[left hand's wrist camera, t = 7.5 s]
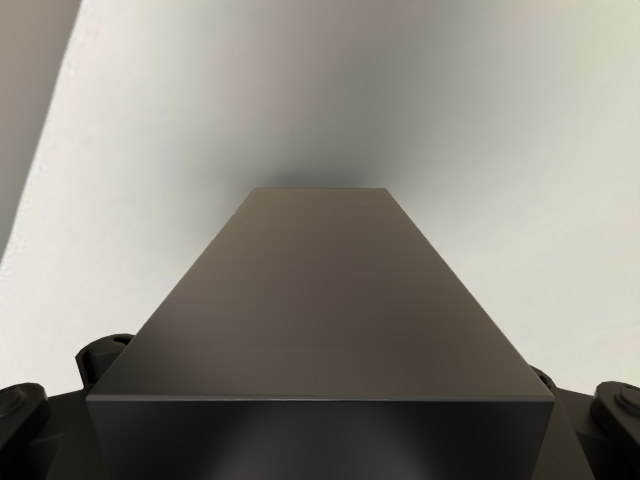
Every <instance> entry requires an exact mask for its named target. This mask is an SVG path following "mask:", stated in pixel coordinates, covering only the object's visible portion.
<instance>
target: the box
mask: <svg viewBox="0 0 640 480" xmlns="http://www.w3.org/2000/svg"><path fill="white" fill-rule="evenodd" d="M86 403H87V406H88V409H89V413H90V416H91V419H92V423H93V426H94V429H95V432H96V436H97V439H98V442H99V446H100V449H101V452H102V455H103V459H104V462H105V465H106V469H107V472H108V475H109V479H110V480H531V478H532V475H533V472H534V469H535V465H536V462H537V459H538V456H539V453H540V449H541V446H542V443H543V440H544V437H545V433H546V430H547V427H548V424H549V421H550V417H551V414H552V411H553V408H554V405H555V397H554V395H553V394H552V393H551V392H550V391H549V389H548V388H547V387H546V386H545V384H544V383H543V382H542V381H541V379H540V378H539V377H538V376H537V375H536V373H535V372H534V371H533V370H532V368H531V367H530V366H529V365H528V363H527V362H526V361H525V360H524V358H523V357H522V356H521V355H520V354H519V352H518V351H517V350H516V349H515V347H514V346H513V345H512V344H511V342H510V341H509V340H508V339H507V338H506V336H505V335H504V334H503V333H502V331H501V330H500V329H499V328H498V326H497V325H496V324H495V323H494V321H493V320H492V319H491V318H490V317H489V315H488V314H487V313H486V312H485V310H484V309H483V308H482V307H481V305H480V304H479V303H478V302H477V300H476V299H475V298H474V297H473V296H472V294H471V293H470V292H469V291H468V289H467V288H466V287H465V286H464V284H463V283H462V282H461V281H460V280H459V278H458V277H457V276H456V275H455V273H454V272H453V271H452V270H451V268H450V267H449V266H448V265H447V263H446V262H445V261H444V260H443V259H442V257H441V256H440V255H439V254H438V252H437V251H436V250H435V249H434V247H433V246H432V245H431V244H430V243H429V241H428V240H427V239H426V238H425V236H424V235H423V234H422V233H421V231H420V230H419V229H418V228H417V226H416V225H415V224H414V223H413V222H412V220H411V219H410V218H409V217H408V215H407V214H406V213H405V212H404V210H403V209H402V208H401V207H400V206H399V204H398V203H397V202H396V201H395V199H394V198H393V197H392V196H391V194H390V193H389V192H388V191H387V189H385V188H255V189H254V190H253V191H252V193H251V194H250V195H249V196H248V198H247V199H246V200H245V201H244V203H243V204H242V205H241V206H240V207H239V209H238V210H237V211H236V212H235V214H234V215H233V216H232V217H231V219H230V220H229V221H228V222H227V223H226V225H225V226H224V227H223V228H222V230H221V231H220V232H219V233H218V234H217V236H216V237H215V238H214V239H213V241H212V242H211V243H210V244H209V246H208V247H207V248H206V249H205V250H204V252H203V253H202V254H201V255H200V257H199V258H198V259H197V260H196V262H195V263H194V264H193V265H192V266H191V268H190V269H189V270H188V271H187V273H186V274H185V275H184V276H183V278H182V279H181V280H180V281H179V282H178V284H177V285H176V286H175V287H174V289H173V290H172V291H171V292H170V294H169V295H168V296H167V297H166V298H165V300H164V301H163V302H162V303H161V305H160V306H159V307H158V308H157V310H156V311H155V312H154V313H153V314H152V316H151V317H150V318H149V319H148V321H147V322H146V323H145V324H144V326H143V327H142V328H141V329H140V330H139V332H138V333H137V334H136V335H135V337H134V338H133V339H132V340H131V342H130V343H129V344H128V345H127V346H126V348H125V349H124V350H123V351H122V353H121V354H120V355H119V356H118V358H117V359H116V360H115V361H114V362H113V364H112V365H111V366H110V367H109V369H108V370H107V371H106V372H105V374H104V375H103V376H102V377H101V378H100V380H99V381H98V382H97V383H96V385H95V386H94V387H93V388H92V390H91V391H90V392H89V393H88V394H87V397H86Z"/></svg>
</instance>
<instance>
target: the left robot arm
mask: <svg viewBox="0 0 640 480" xmlns="http://www.w3.org/2000/svg"><path fill="white" fill-rule="evenodd" d="M134 337H135V335H131V334H114V335H110V336H106V337H103V338H100V339H98V340H96V341H94V342H91V343H90V344H88V345H87V346H86V347H84V348H83V349H81V350H80V352H79V353H78V354H77V355H76V356H75V359H76V362H77V365H78V369H79V372H80V375H81V379H82V382H83V385H84V388H83V389H81V390H78V391H74V392H70V393H65V394H61V395H56V396H52V397H47V395H46V392H45V390H44V387H42V386H41V385H39V384H37V383H23V384H17V385H13V386H10V387H7V388H4V389H1V390H0V480H110V479H109V475H108V472H107V469H106V465H105V462H104V459H103V455H102V452H101V449H100V446H99V442H98V439H97V436H96V432H95V429H94V426H93V423H92V419H91V416H90V413H89V409H88V406H87V403H86V397H87V394H88V393H89V392H90V391H91V390H92V388H93V387H94V386H95V385H96V383H97V382H98V381H99V380H100V378H101V377H102V376H103V375H104V374H105V372H106V371H107V370H108V369H109V367H110V366H111V365H112V364H113V362H114V361H115V360H116V359H117V358H118V356H119V355H120V354H121V353H122V351H123V350H124V349H125V348H126V346H127V345H128V344H129V343H130V342H131V340H132V339H133V338H134ZM529 366H530V367H531V368H532V370H533V371H534V372H535V373H536V375H537V376H538V377H539V378H540V379H541V381H542V382H543V383H544V384H545V386H546V387H547V388H548V389H549V391H550V392H551V393H552V394H553V395H554V397H555V405H554V408H553V411H552V414H551V417H550V421H549V424H548V427H547V430H546V433H545V437H544V440H543V443H542V446H541V449H540V453H539V456H538V459H537V462H536V465H535V469H534V472H533V475H532V478H531V480H640V388H638V387H636V386H632V385H629V384H626V383H621V382H615V381H609V382H602V383H601V384H599V385H598V386H597V388H596V391H595V393H594V396H591V395H586V394H582V393H577V392H573V391H568V390H564V389H560V388H557V387H556V385H555V384H554V382H553V381H552V379H551V378H550V377H549V376H547V375H546V374H545V373H544V372H542V371H541V370H539V369H537V368H535V367H533V366H531V365H529Z"/></svg>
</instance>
